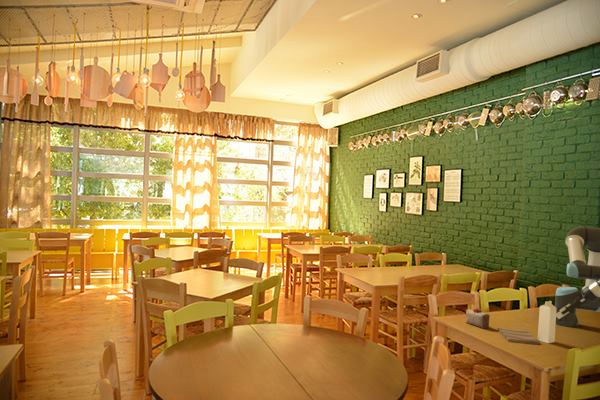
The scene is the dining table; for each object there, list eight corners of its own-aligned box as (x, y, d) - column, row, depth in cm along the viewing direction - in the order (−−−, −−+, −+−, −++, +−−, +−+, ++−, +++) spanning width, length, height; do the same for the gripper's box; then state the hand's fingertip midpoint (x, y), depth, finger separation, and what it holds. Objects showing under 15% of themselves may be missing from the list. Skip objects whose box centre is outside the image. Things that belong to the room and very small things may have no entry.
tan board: (497, 330, 254) (497, 327, 254) (526, 333, 252) (526, 330, 252) (507, 341, 235) (508, 338, 235) (539, 344, 232) (539, 341, 232)
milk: (554, 342, 238) (557, 302, 237) (548, 343, 235) (551, 303, 234) (543, 338, 243) (546, 299, 243) (537, 339, 240) (540, 300, 240)
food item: (463, 322, 267) (464, 306, 266) (471, 321, 271) (472, 305, 270) (482, 329, 255) (483, 312, 255) (491, 327, 259) (492, 311, 259)
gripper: (597, 301, 213) (560, 325, 223) (602, 294, 233) (567, 316, 242) (585, 289, 217) (549, 312, 226) (590, 283, 236) (557, 305, 245)
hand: (558, 314), depth 234 cm, fingers open, 13 cm apart
